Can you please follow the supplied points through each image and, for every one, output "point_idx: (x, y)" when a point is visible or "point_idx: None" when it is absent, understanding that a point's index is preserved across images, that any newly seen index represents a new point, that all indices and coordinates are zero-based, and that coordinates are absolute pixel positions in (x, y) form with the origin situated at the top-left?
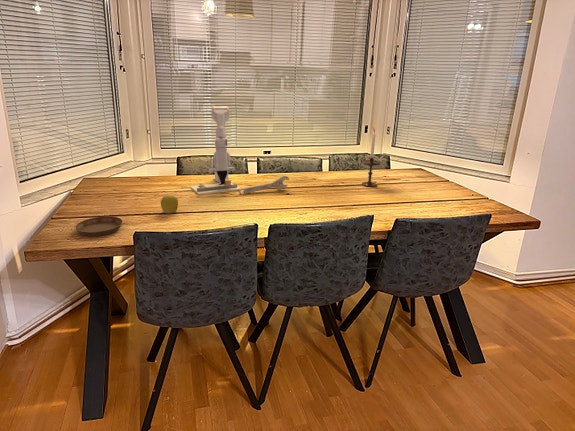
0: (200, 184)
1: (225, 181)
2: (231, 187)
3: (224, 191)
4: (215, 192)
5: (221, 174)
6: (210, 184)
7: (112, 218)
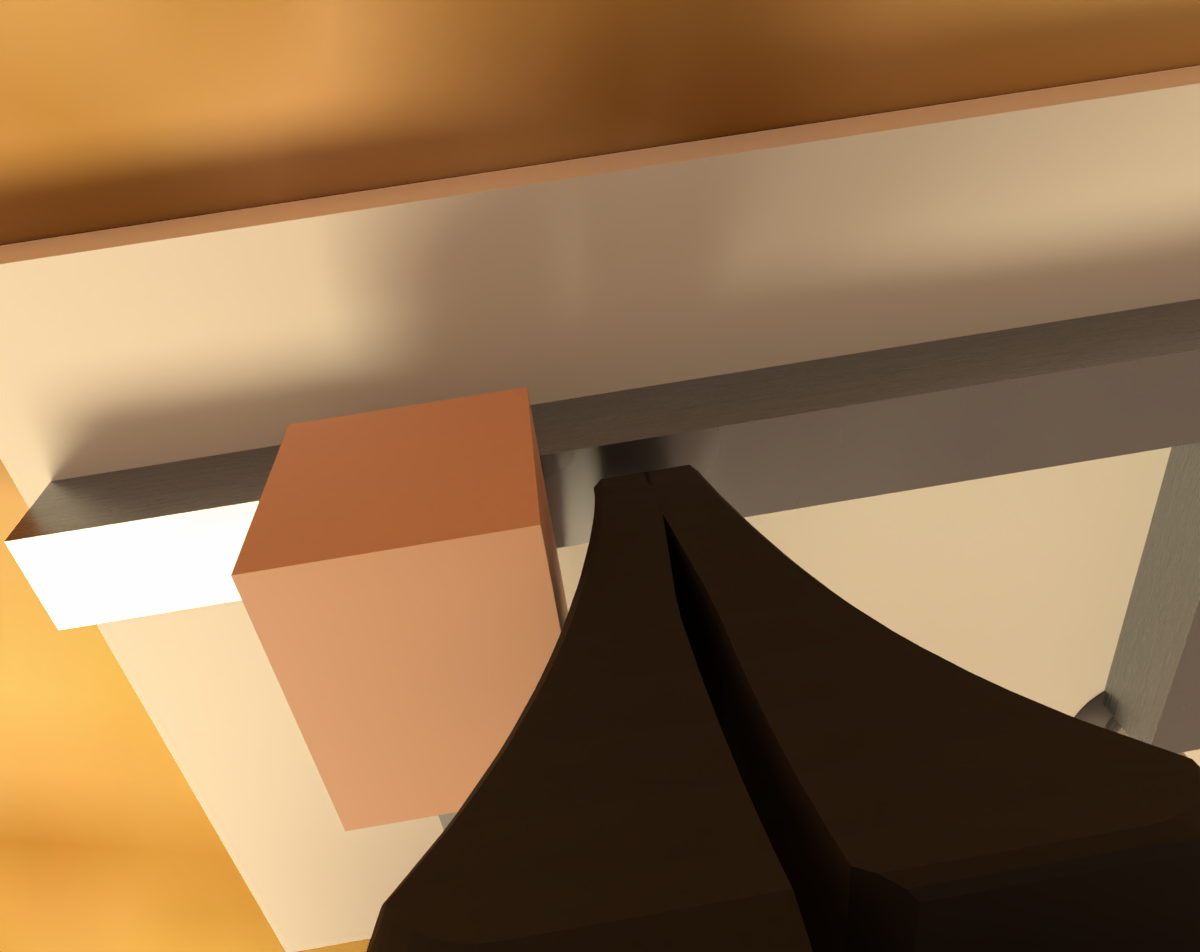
0: (1197, 739)
1: (545, 535)
2: None
3: (613, 157)
4: (980, 105)
5: (1006, 785)
6: None
7: None
